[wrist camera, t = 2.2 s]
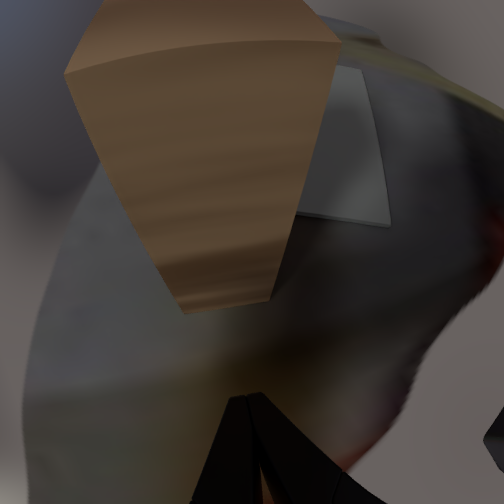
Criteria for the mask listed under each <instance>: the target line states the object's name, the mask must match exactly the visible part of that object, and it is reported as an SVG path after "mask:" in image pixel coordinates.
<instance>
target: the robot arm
mask: <svg viewBox="0 0 504 504" xmlns="http://www.w3.org/2000/svg"><path fill="white" fill-rule="evenodd" d="M259 463H260V465H259ZM260 467H261V470H262V473H263V476H264V478H265V481H266V484H267V486H268V489H269V491H270V494H271V496H272V499H273V501H274V504H387V503H385V502H384V501H382V500H380V499H379V498H378V497H376V496H375V495H373V494H371V493H370V492H369V491H367V490H366V489H365V488H364V487H362V486H361V485H360V484H359V483H357V482H356V481H355V480H354V479H352V478H351V477H350V476H349V475H348V474H347V473H346V472H342V469H341V468H340V467H339V466H338V465H336V464H335V463H334V462H333V461H332V460H331V459H330V458H329V457H328V456H327V455H326V454H324V453H323V452H322V451H321V450H320V449H319V448H318V447H317V446H316V445H315V444H314V443H313V442H312V441H311V440H309V439H308V438H307V437H306V436H305V435H304V434H303V433H302V432H301V431H300V430H299V429H298V428H297V427H296V426H295V425H294V424H293V423H292V422H291V421H290V420H289V419H288V418H287V417H286V416H285V415H284V414H283V413H282V412H281V411H280V410H279V409H278V408H277V407H276V406H275V405H274V404H273V403H272V402H271V401H270V400H269V399H268V398H267V397H266V396H265V395H264V394H263V393H262V392H257V393H251V394H247V396H245V395H239V396H233V397H230V398H229V400H228V403H227V405H226V408H225V411H224V414H223V416H222V419H221V422H220V425H219V427H218V430H217V433H216V435H215V438H214V441H213V443H212V446H211V449H210V451H209V454H208V457H207V459H206V462H205V465H204V467H203V470H202V473H201V475H200V478H199V480H198V483H197V486H196V488H195V491H194V493H193V496H192V500H193V501H190V503H189V504H263V496H262V483H261V471H260Z"/></svg>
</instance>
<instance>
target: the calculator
mask: <svg viewBox="0 0 504 504" xmlns="http://www.w3.org/2000/svg"><path fill="white" fill-rule="evenodd" d="M483 443H484V445H485V446H486V448H487V450H488V451H489V453H490V455H491V456H492V458H493V460H494V461H495V463H496V465H497V467H498V468H499V470H501V471H502V472H503V473H504V407H503V408H502V410H501V412H500V413H499V415H498V416H497V418H496V419H495V421H494V422H493V424H492V425H491V427H490V428H489V429H488V431H487V432H486V434H485V435H484V438H483Z"/></svg>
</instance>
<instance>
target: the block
mask: <svg viewBox="0 0 504 504" xmlns="http://www.w3.org/2000/svg"><path fill="white" fill-rule="evenodd" d="M341 44H342V42H341V41H340V40H339V39H338V38H337V36H336V35H335V34H334V33H333V32H332V31H331V30H330V28H329V27H328V26H327V25H326V24H325V23H324V22H323V21H322V20H321V19H320V18H319V17H318V15H317V14H316V13H315V12H314V11H313V10H312V9H311V8H310V7H309V6H308V5H307V4H306V3H305V2H304V1H303V0H104V2H103V4H102V5H101V7H100V8H99V10H98V11H97V13H96V15H95V16H94V18H93V20H92V22H91V23H90V25H89V26H88V28H87V30H86V32H85V33H84V35H83V37H82V39H81V41H80V43H79V45H78V47H77V48H76V50H75V52H74V54H73V56H72V58H71V60H70V62H69V64H68V66H67V68H66V70H65V72H64V77H65V80H66V82H67V85H68V87H69V90H70V92H71V95H72V97H73V99H74V102H75V104H76V107H77V109H78V111H79V114H80V116H81V118H82V121H83V123H84V126H85V128H86V130H87V132H88V135H89V137H90V139H91V141H92V144H93V145H94V148H95V150H96V152H97V154H98V157H99V159H100V161H101V163H102V165H103V167H104V169H105V171H106V173H107V175H108V177H109V180H110V182H111V184H112V186H113V188H114V190H115V192H116V194H117V196H118V198H119V200H120V201H121V203H122V205H123V207H124V209H125V211H126V213H127V215H128V217H129V219H130V221H131V223H132V224H133V226H134V228H135V230H136V232H137V234H138V236H139V237H140V239H141V241H142V243H143V245H144V247H145V248H146V250H147V252H148V254H149V255H150V257H151V259H152V261H153V263H154V264H155V266H156V268H157V269H158V271H159V273H160V275H161V276H162V278H163V280H164V282H165V283H166V285H167V287H168V288H169V290H170V292H171V293H172V295H173V297H174V298H175V300H176V302H177V303H178V305H179V306H180V308H181V310H182V311H183V313H184V314H189V313H196V312H203V311H210V310H216V309H223V308H229V307H235V306H242V305H248V304H254V303H260V302H266V301H269V300H270V297H271V293H272V290H273V287H274V284H275V281H276V277H277V274H278V271H279V268H280V264H281V261H282V258H283V254H284V251H285V248H286V245H287V241H288V238H289V234H290V231H291V228H292V224H293V221H294V218H295V214H296V211H297V207H298V204H299V200H300V197H301V194H302V190H303V187H304V183H305V180H306V176H307V173H308V169H309V165H310V162H311V158H312V155H313V151H314V148H315V144H316V140H317V137H318V133H319V129H320V126H321V122H322V118H323V114H324V111H325V107H326V103H327V99H328V96H329V92H330V88H331V84H332V80H333V76H334V72H335V68H336V64H337V60H338V56H339V52H340V48H341Z"/></svg>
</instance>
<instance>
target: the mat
mask: <svg viewBox="0 0 504 504" xmlns="http://www.w3.org/2000/svg"><path fill="white" fill-rule="evenodd" d="M295 215H302V216H309V217H317V218H324V219H331V220H338V221H345V222H352V223H359V224H365V225H372V226H378V227H385V228H389V227H390V226H391V218H390V210H389V203H388V195H387V188H386V182H385V176H384V170H383V164H382V158H381V153H380V147H379V142H378V137H377V132H376V127H375V123H374V118H373V114H372V110H371V105H370V101H369V97H368V93H367V89H366V85H365V81H364V78H363V74H362V70H359V69H354V68H350V67H345V66H340V65H336V68H335V72H334V76H333V80H332V84H331V88H330V92H329V96H328V99H327V103H326V107H325V111H324V114H323V118H322V122H321V126H320V129H319V133H318V137H317V140H316V144H315V148H314V151H313V155H312V158H311V162H310V165H309V169H308V173H307V176H306V180H305V183H304V187H303V190H302V194H301V197H300V200H299V204H298V207H297V211H296V214H295Z"/></svg>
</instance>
